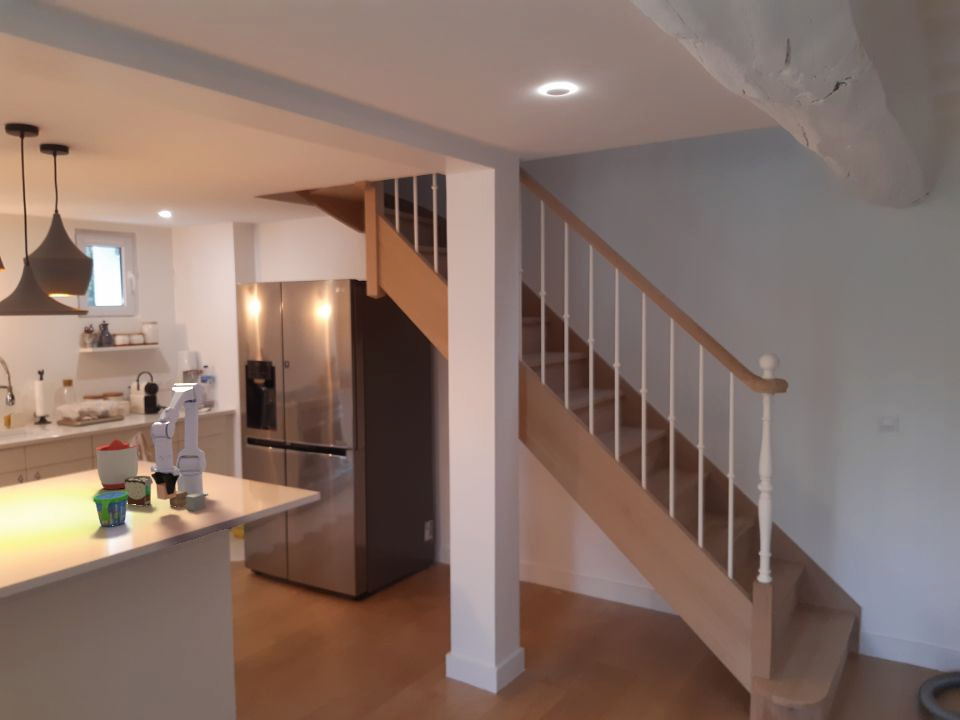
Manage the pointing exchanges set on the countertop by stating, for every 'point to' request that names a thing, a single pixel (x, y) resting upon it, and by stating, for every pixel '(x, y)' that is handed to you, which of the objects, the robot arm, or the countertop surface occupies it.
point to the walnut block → (179, 498)
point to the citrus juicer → (116, 463)
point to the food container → (138, 489)
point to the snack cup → (111, 507)
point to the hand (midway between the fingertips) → (166, 493)
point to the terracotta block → (164, 492)
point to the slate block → (195, 501)
